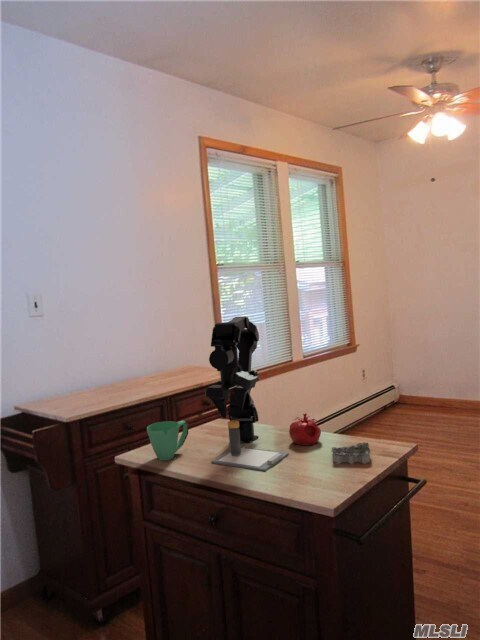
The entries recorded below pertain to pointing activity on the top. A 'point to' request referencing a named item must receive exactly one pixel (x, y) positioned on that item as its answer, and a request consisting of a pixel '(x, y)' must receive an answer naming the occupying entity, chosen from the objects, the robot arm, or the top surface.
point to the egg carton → (352, 454)
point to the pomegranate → (304, 431)
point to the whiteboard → (251, 459)
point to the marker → (234, 438)
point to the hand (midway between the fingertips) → (232, 414)
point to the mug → (166, 438)
